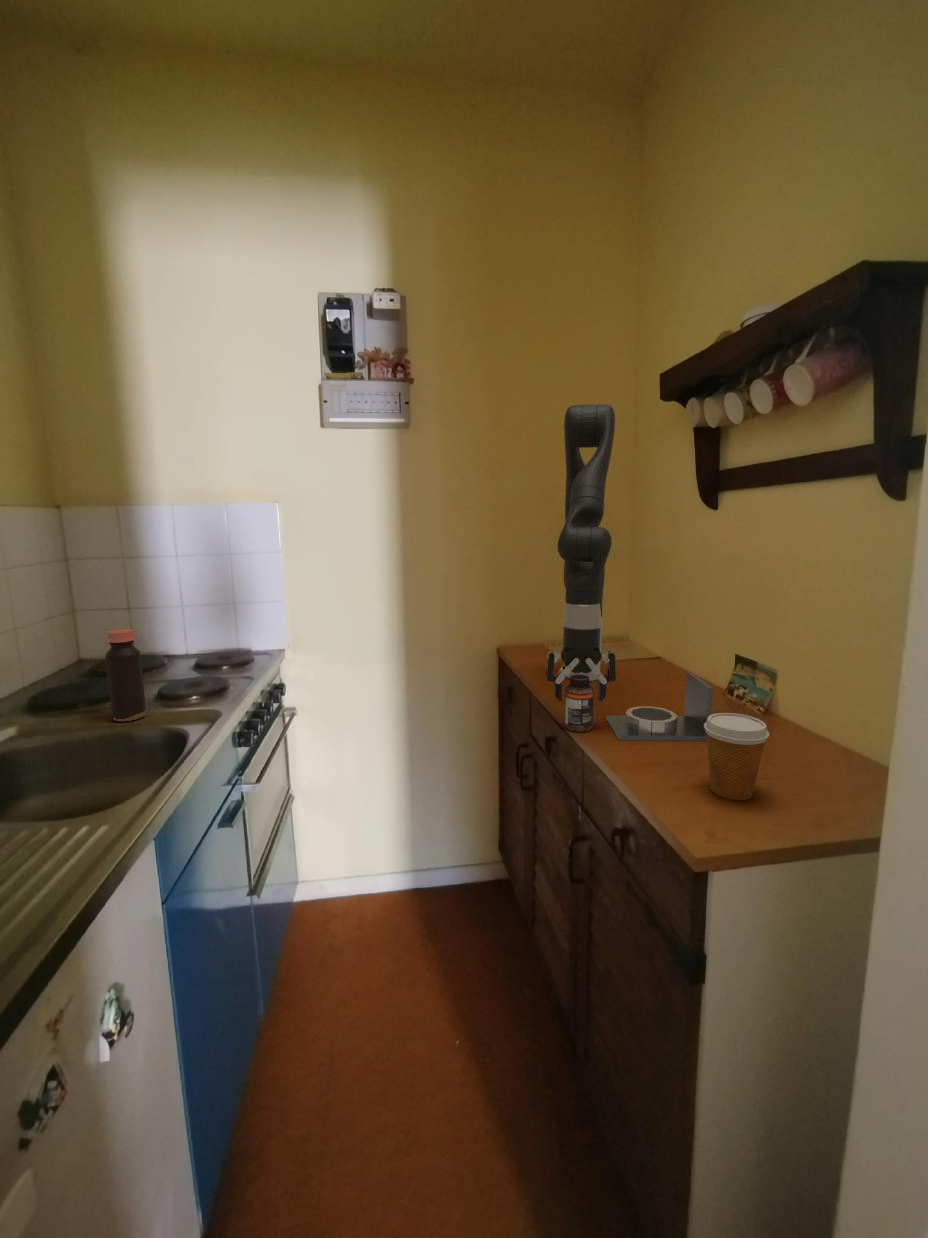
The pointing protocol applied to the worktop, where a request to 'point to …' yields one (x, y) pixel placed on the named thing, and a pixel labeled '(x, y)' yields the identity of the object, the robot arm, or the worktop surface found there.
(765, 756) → the worktop surface
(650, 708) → the cup bracket
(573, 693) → the supplement bottle
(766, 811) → the worktop surface
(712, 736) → the disposable coffee cup
